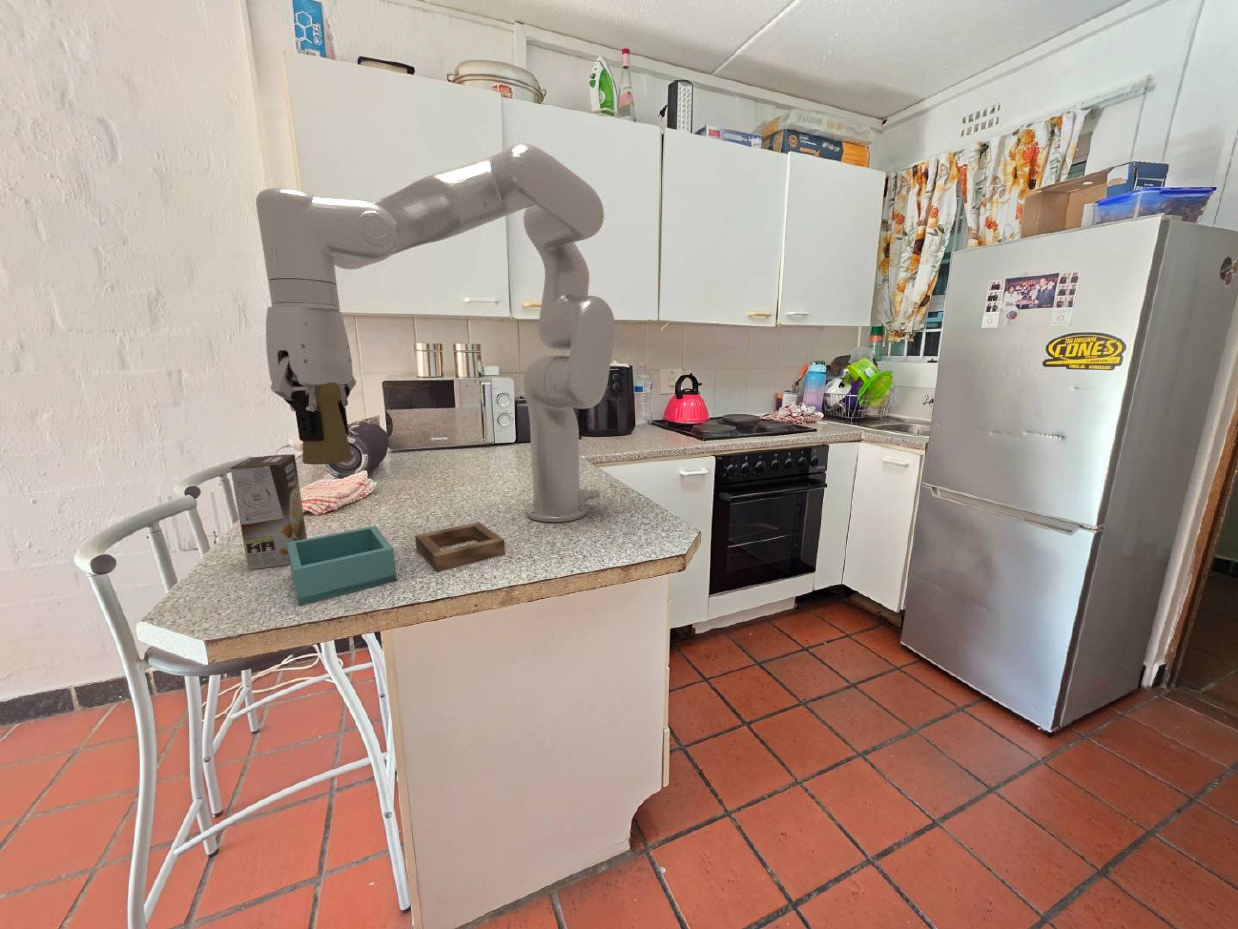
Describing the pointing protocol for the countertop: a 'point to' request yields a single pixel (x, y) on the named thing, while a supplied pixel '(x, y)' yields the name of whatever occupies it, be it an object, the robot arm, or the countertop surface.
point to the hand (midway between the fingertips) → (325, 436)
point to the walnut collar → (459, 556)
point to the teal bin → (340, 564)
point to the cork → (328, 429)
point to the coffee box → (268, 508)
